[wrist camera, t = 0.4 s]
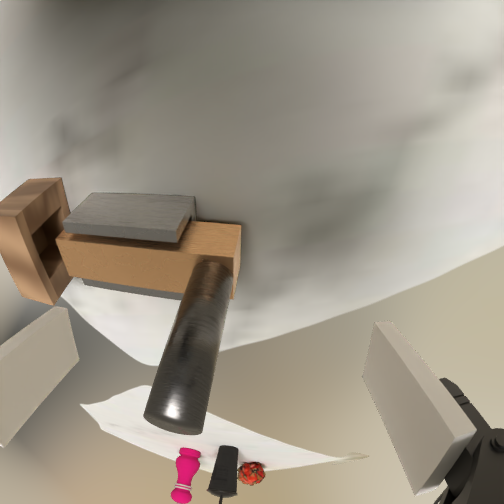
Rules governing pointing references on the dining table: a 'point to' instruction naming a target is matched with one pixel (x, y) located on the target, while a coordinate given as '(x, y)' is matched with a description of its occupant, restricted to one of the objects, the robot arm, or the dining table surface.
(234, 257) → the mallet
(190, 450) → the pepper mill
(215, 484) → the drinking cup
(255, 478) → the pine cone
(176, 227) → the channel
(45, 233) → the socket block
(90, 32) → the dining table surface
